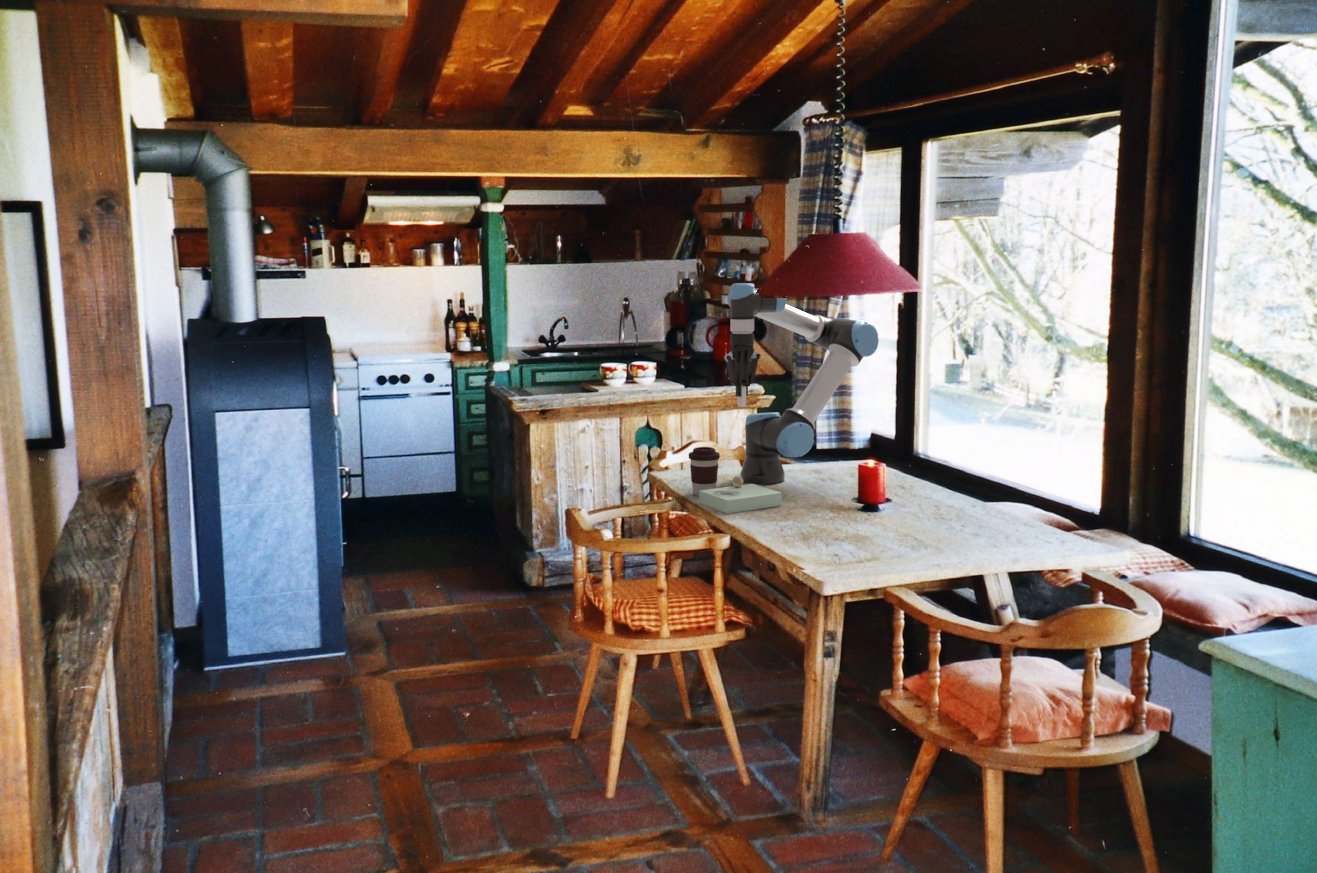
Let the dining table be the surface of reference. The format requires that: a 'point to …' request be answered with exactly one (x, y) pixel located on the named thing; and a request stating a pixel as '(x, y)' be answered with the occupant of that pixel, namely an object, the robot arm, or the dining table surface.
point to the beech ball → (737, 481)
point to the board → (740, 498)
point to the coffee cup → (703, 468)
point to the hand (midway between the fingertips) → (741, 406)
